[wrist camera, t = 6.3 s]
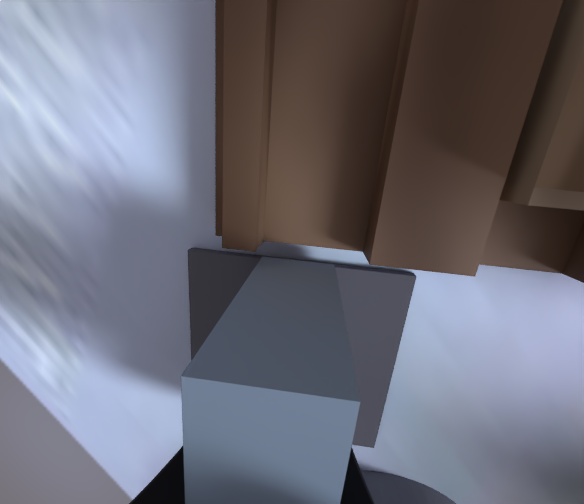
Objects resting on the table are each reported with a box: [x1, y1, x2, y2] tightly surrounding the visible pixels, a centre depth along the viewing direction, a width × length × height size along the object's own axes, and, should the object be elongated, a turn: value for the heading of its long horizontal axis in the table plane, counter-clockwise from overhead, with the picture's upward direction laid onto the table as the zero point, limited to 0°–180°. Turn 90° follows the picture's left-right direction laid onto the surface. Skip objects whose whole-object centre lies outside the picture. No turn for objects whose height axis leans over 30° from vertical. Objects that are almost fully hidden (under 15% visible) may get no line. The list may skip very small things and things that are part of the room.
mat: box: [188, 248, 416, 448], centre depth 13 cm, size 10×10×1 cm
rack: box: [216, 0, 584, 283], centre depth 8 cm, size 15×14×2 cm
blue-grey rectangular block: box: [181, 257, 360, 504], centre depth 9 cm, size 3×10×7 cm, turn 175°
